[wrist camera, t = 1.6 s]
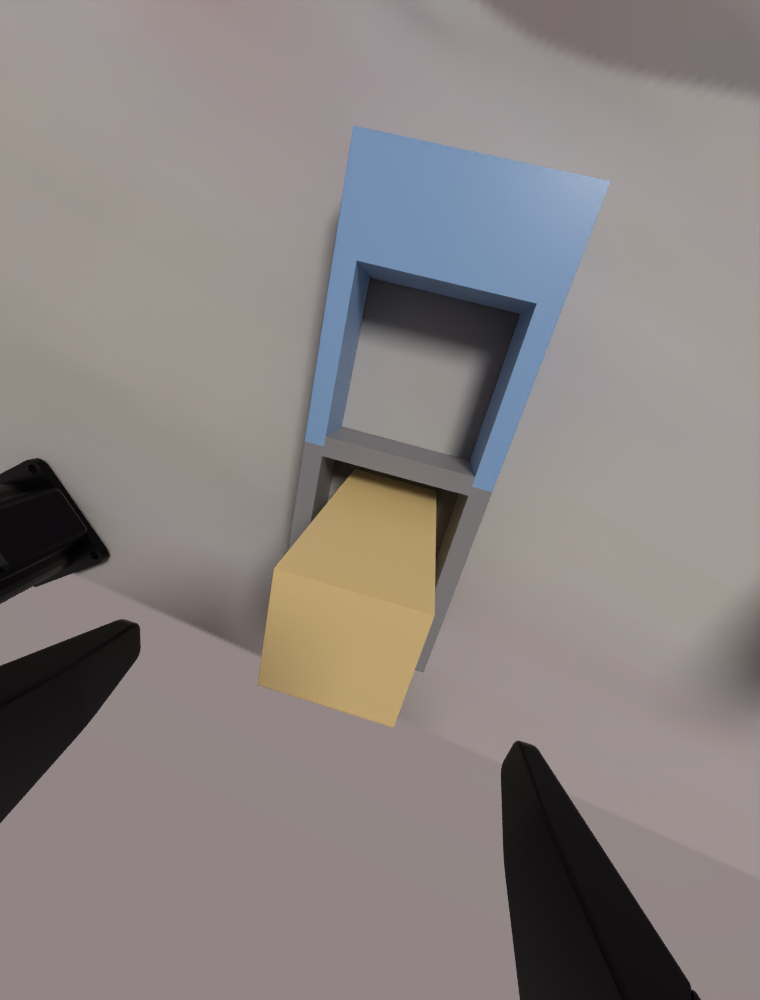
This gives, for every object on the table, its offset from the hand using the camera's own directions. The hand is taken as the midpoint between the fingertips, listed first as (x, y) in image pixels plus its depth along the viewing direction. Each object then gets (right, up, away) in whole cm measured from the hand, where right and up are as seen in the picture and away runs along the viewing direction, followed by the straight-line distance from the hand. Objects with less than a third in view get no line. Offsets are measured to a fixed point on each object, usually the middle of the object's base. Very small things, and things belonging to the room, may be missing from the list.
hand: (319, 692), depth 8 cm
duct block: (+2, +7, +8) cm, 11 cm away
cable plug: (+2, +4, +9) cm, 10 cm away
